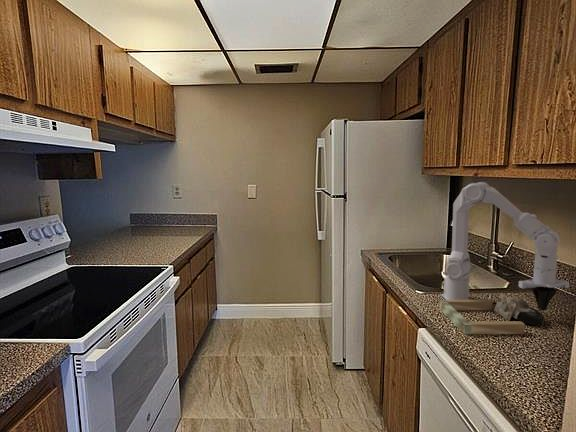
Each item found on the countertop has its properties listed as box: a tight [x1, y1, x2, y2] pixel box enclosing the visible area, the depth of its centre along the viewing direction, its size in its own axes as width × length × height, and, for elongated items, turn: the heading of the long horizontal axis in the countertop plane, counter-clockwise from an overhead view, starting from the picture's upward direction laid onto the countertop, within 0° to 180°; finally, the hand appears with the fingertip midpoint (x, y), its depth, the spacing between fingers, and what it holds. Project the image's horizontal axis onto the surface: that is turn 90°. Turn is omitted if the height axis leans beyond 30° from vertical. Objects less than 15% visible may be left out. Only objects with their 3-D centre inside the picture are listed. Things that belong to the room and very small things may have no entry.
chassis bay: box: [438, 299, 526, 335], centre depth 117 cm, size 20×18×3 cm
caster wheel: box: [494, 292, 545, 327], centre depth 117 cm, size 7×11×10 cm
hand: (541, 309), depth 116 cm, fingers closed
